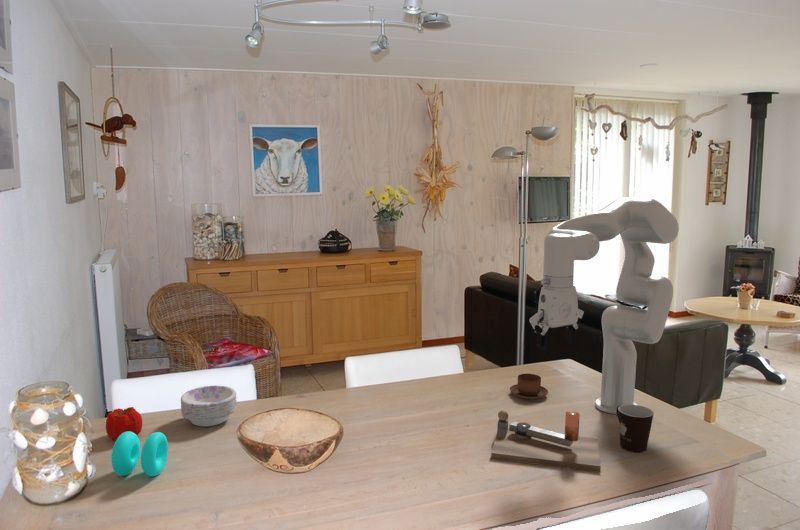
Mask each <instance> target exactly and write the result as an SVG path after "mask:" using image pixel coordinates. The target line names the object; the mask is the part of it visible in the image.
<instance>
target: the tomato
mask: <svg viewBox="0 0 800 530" xmlns="http://www.w3.org/2000/svg"><path fill="white" fill-rule="evenodd" d="M142 429H143V417H142V414H140V412H139V411H137V410H136V408H135V407H134V406H131V407H130V406H129V407H127V408H124V409H123V408H116V409H113V411H110V412H109V413H108V414H107V417H106V420H105V431H106V434H107V436H108V438H109V439H110V440H114V441H116V440H117V438H118V437H119V436H120V435H121V434H122V433H124V432H128V431H130V432H133V433H135V434H136V435H137V436H139V434H140V433H141V432H142Z"/></svg>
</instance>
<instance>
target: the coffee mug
mask: <svg viewBox="0 0 800 530" xmlns="http://www.w3.org/2000/svg"><path fill="white" fill-rule="evenodd" d="M616 413H617V415H616V417H617V420H618V426H619V427H618V428H619V444H620V448H621V449H623V450H625V451H627V452H630V453H634V454H635V453H636V454H637V453H639V454H640V453H645V452H646V451H647V450H648V449H647V448H648V443H649V439H650V434H651V428H652V424H653V420H654V413H655V412H654V411H653V410H652V409H650V408H648V407H646V406H643V405H639V404H637V405H622V406H618V407H617V410H616Z"/></svg>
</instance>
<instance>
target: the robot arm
mask: <svg viewBox="0 0 800 530" xmlns="http://www.w3.org/2000/svg"><path fill="white" fill-rule="evenodd" d="M678 234H679V222H678V221H677V218H676V217H675V216H674V214H673V213H672V212H670V210H668V208H667V207H666V206H664V204H662V203H661V202H660V201H658V200H657V199H654V198H651V197H649V198H647V197H621V198H618V199H616V200H614V201H613V202H611V203H609V204H608V205H606V206H605V207H603V208H601V209H600V210H598V211H597V212H593V213H589V214H586V215H582V216H578V217H574V218H571V219H567V220H565V221H562V222H560V223H559V224H557V225H556V226H554V227H553V228H551V229H550V230H549V231H548V233H547V234H546V236H544V241H543V270H542V271H543V272H542V275H543V277H542V279H541V280H540V284H541V285H542V287H540V288H541V290H540V293H539V299H538V308H537V312H536V313H535V314H534V315H532V316H531V317H530V318H529V323H530V325H531V328H532V329H533V331H534V333H536V347H537V348H538V349H540V350H543V351H546V350H548V349H547V348H548V334H546V333H547V332H548V330H549V328H551V329H552V328H553V329H554V328H560V327H565V339H564V340H565V342H566V343H568V344H570V345H576V343H577V342H576V341H577V330H578V329H579V325H580V324H581V322H582V318H583V315H584V312H585V311H584V310H582V309H580V308H579V302H578V301H579V300H578V299H579V298H578V293H577V288H576V286H575V285H574V272H575V269H574V267H575V261H588V260H591V259H593V258H594V257H595V256H596V255H597V254H598V252H599V250H600V248H601V247H600V246H601V245H600V242H605V241H610V240H613V239H614V238H616V237H618V236H619V235H620V238H621V240H622V243H623V244H622V245H623V248H624V261H623V265H622V268H621V270H620V274H619V278H618V282H617V285H616V290H615V295H616V297H617V299H618V300H619V301H621V302H623V303H627V304H631V305H637V306H640V307H641V306H642V307H647V309H642V308H636V307H632V306H625V305H611V306H608V307H607V308H606V309H604V310H603V312H602V316H601V329H602V337H603V351H602V352H603V353H602V354H603V355H602V356H603V357H602V369H601V385H600V386H601V387H600V397H599V398H596V400H594V401H595V403H594V405H595V407H596V408H597V409H598V410H600V411H602V412H605V413H608V414H610V415H616V416H617V413H616V410H617V407H618V406H622V405H638V403H636V402H635V385H636V372H637V371H636V370H637V358H638V357H637V355H638V354H637V350H636V346H635V344H634V342H638V343H642V344H647V345H648V344H649V345H653V344H656V343H658V342H659V341H660V340H661V338H662V335H664V334H663V333H664V330H665V327H666V324H667V320H668V316H669V312H670V309H671V305H672V302H673V297H674V286H673V284H672V281H671V280H670V279H669V278H668V277H666V276H662V275H657V274H653V270H654V266H655V256H654V254H653V252H652V250H651V248H650V246H649V245H648V243H650V244H651V243H653V244H660V245H661V244H662V245H663V244H664V245H666V244H670V243H672V242H674V241H675V240H676V239H677V237H678Z"/></svg>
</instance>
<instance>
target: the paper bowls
mask: <svg viewBox="0 0 800 530" xmlns="http://www.w3.org/2000/svg"><path fill="white" fill-rule="evenodd" d="M237 401H238V400H237V392H236V390H235V388H233V387H231V386H227V385H204V386H200V387H195V388H192V389H190V390H188V391H185V392H184V393H183V394H182V395H181V397H180V408H181V409H180V411H181V416H182V418H184V419H186V420H189V421H190V423H191V424H193V425H195V426H196V427H214V426H217V425H220V424H223V423H224V422H226V421H227V420H228V419H229V418H230V415H232V414H233V413H234V412H235V411H237V408H238V404H237V403H238V402H237Z"/></svg>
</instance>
